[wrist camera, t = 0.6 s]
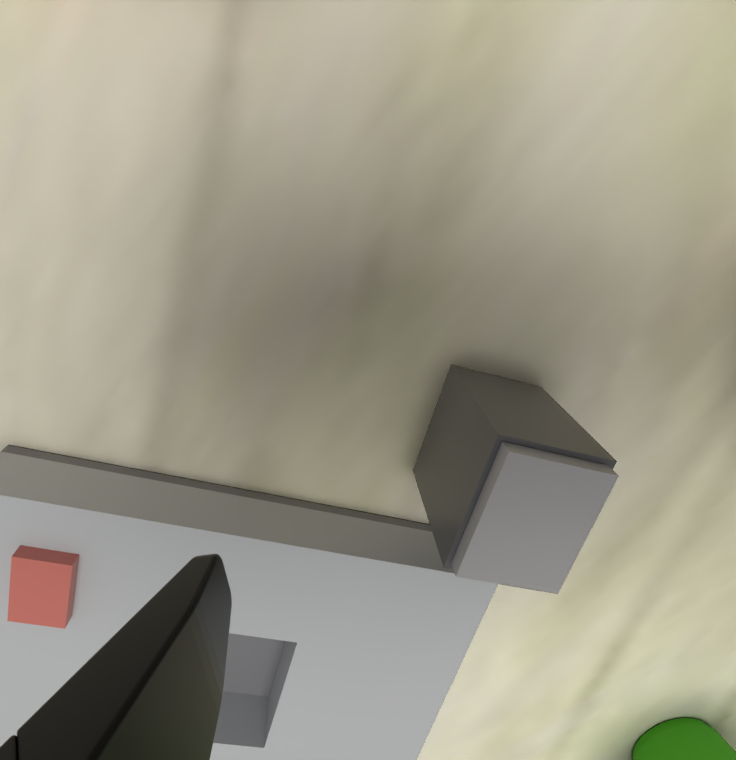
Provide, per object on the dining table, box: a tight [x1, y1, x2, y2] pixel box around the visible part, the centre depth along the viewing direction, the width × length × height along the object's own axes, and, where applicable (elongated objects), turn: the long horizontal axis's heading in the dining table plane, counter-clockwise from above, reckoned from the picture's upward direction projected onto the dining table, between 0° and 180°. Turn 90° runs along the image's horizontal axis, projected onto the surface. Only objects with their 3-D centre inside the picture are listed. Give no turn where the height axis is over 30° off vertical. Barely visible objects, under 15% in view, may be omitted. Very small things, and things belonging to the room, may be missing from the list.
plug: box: [413, 365, 618, 594], centre depth 19 cm, size 4×5×7 cm
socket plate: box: [0, 445, 498, 760], centre depth 24 cm, size 20×16×4 cm
